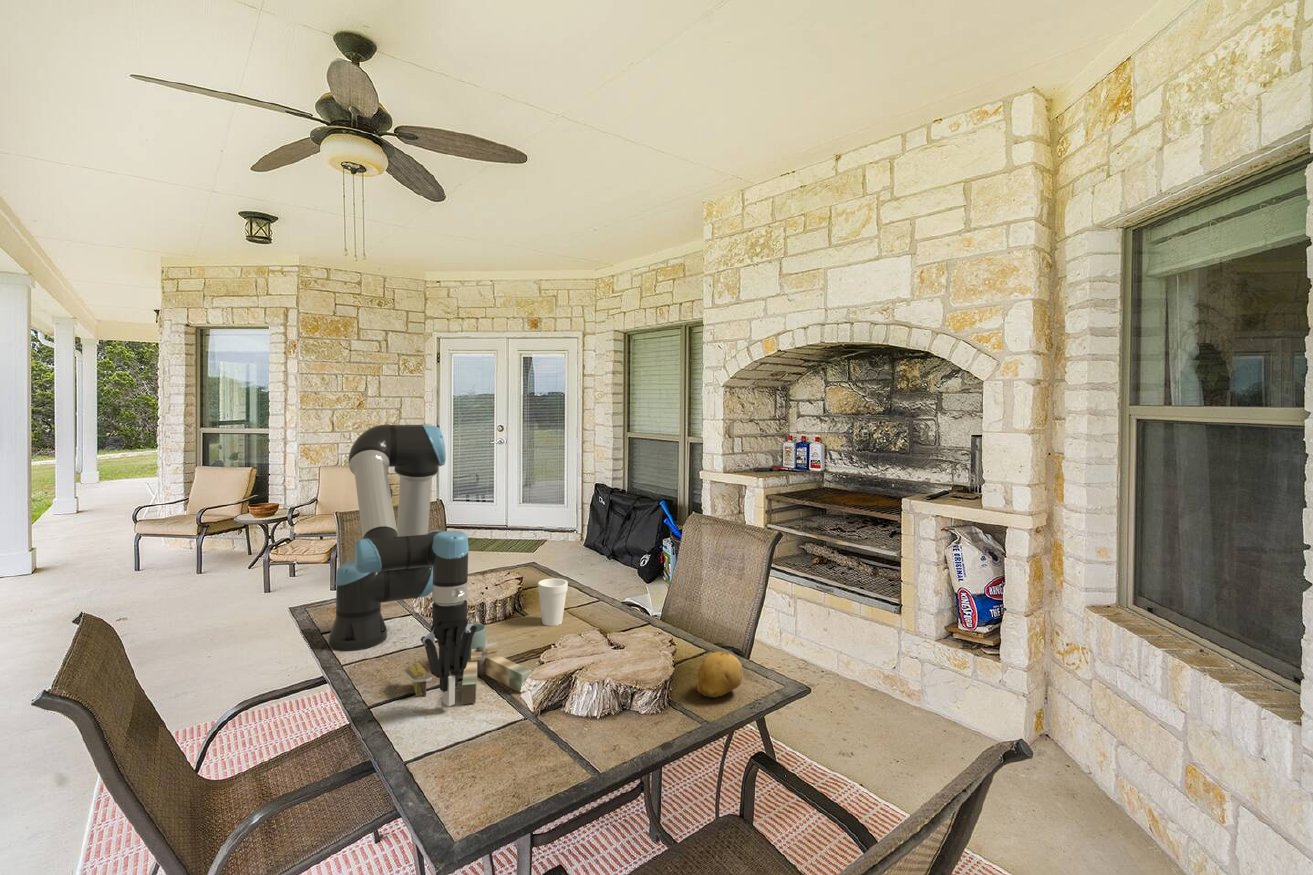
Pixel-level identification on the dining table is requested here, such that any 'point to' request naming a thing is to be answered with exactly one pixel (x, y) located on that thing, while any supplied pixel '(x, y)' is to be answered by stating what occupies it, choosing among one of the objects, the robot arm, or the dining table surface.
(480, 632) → the cup
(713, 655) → the potato
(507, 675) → the tan green block
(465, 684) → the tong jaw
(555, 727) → the dining table surface
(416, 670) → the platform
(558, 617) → the foam cup
